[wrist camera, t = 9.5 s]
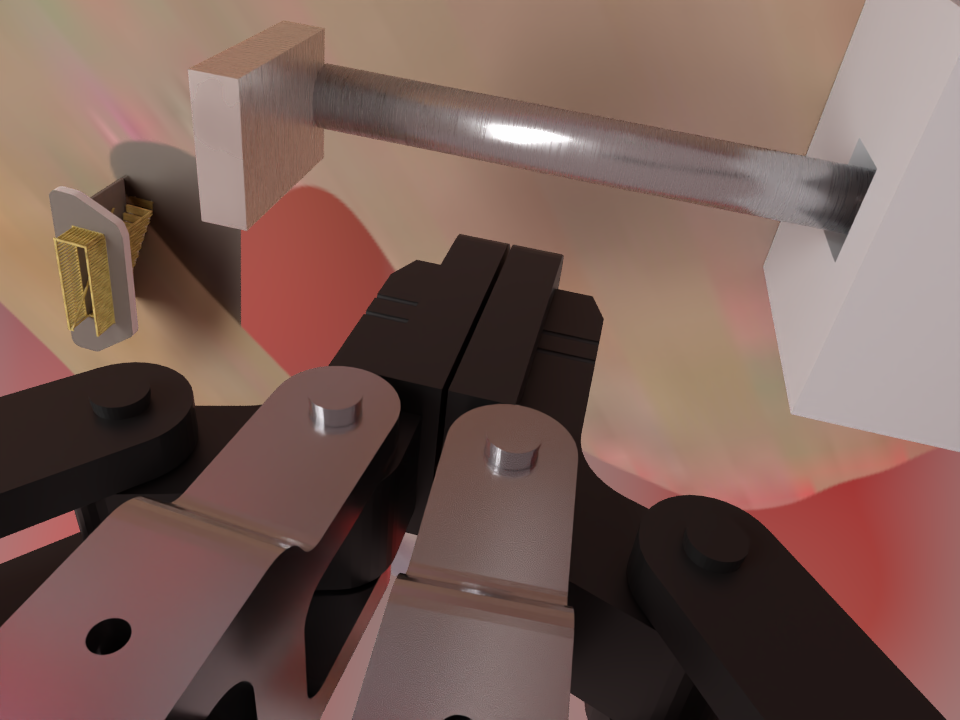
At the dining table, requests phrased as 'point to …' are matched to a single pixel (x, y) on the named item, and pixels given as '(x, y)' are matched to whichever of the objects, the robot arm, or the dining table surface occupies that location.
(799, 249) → the block
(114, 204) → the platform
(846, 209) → the shaft
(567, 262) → the dining table surface
